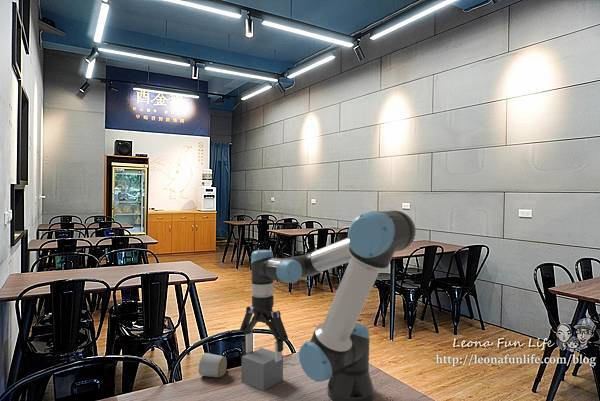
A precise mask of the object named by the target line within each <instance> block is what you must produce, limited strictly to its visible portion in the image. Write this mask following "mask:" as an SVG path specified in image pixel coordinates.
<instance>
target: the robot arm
mask: <svg viewBox="0 0 600 401" xmlns="http://www.w3.org/2000/svg"><path fill="white" fill-rule="evenodd" d="M416 232H417V231H416V226H415V223H414V221H413V219H412V218H411V217H410V216H409V215H408V214H407V213H405V212H402V211H400V210H399V211H398V210H386V211H385V210H384V211H383V210H382V211H379V210H371V211H368V212H365V213H362V214H359V215H358V216H357V217H355V218H354V219H353V220H352V222H351V224H350V225H349V227H348V230H347V237H346V238H344V239H341V240H339V241H336V242H334V243H331V244H329V245H326V246H324V247H321V248H319V249H317V250H314V251H311V252H309V253H306V254H303V255H302V254H301V255H296V256H290V257H285V258H284V257H283V258H281V257H274V254H273V253H274V252H273V251H272V250H271V249H270V250H268V249H259V250H258V249H257V250H254V251H252V253H251V256H250V257H251V259H250V260H251V261H250V264H251V265H250V266H251V270H250V271H251V295H252V296H251V305H250V306H249V305H248V306H246V308H245V309H246V310H245V315H244V317H243V319H242V323H241V325H240V328H239V330H240V331H241V332H243V334H244V343H245V353H246V354H249V353H251V352H253V351H254V349H253V348H254V342H253V339H254V338H253V337H254V335H253V331H252V330H253V329H254V328H255V326H256V325H257V323H263V324H265V325H266V326H268V329H269V330H270V332H271V333H272V336H273V337H274V339H275V340H276V341H275V342H274V352H275V362H278V361H280V360H282V355H283V351H284V342H285V341H288V339H289V336H288V334H287V330H286V329H285V326H284V322H283V320H282V318H281V312H280V310H277V311H274V309H273V307H274V302H275V301H274V300H275V299H274V281H275V282H283V283H286V284H288V283H290V284H293V283H297V282H298V281H299V280H300V279H302V278H305V277H306V278H307V277H310V276H315V275H318V274H320V273H322V272H324V271H327V270H330V269H333V268H336V267H339V266H342V265H345V264H347V263H348V265H347V266H346V268H345V271H344V273H343V276H342V278H341V280H340V283H339V285H338V287H337V290H336V292H335V295H334V298H333V300H332V302H331V304H330V306H329V309H328V312H327V314H326V316H325V319H324V321H323V323H321V324H320V323H319V324H318V325H316V328H315V329H314V331H313V334H312V336H311V338H310V340H309V341H305V342H304V343H303V344H302V345H301V346H300V348H299V351H298V359H299V360H298V361H299V364H300V367H301V368H302V370H303V372H304V373H305V374H306V376H307V377H308V378H310V379H311V380H312V381H314V382H317V383H319V382H320V383H321V382H325V381H328V383H327V387H326V388H327V390H326V392H327V396H328V397H329V399H330V400H332V401H373V400H374V399H375V398H374V397H375V388H374V384H373V380H372V378H371V375H370V369H369V368H370V366H369V365H370V340H371V338H370V330H369V327H368V326H366V325H365V324H362V323H359V322H358V320H359V317H360V316H361V313H362V310H363V309H364V306H365V304H366V302H367V301H368V300H367V299H368V297H369V296H370V293H371V291H372V289H373V286H374V284H375V282H376V280H377V278H378V275H379V274H380V271H382V270H386V269H387V268H388V267H389V265H390V263H391V261H392V259H393V256H394V255H395V253H396V252H400V251H403V250H405V249H408V248H409V247H410V246H411V244H413V242H414V240H415V238H416ZM252 316H253V317H252Z"/></svg>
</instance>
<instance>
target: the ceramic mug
mask: <svg viewBox="0 0 600 401" xmlns="http://www.w3.org/2000/svg"><path fill="white" fill-rule="evenodd" d="M227 366H228V360H227V358H226V356H223V355H220V354H219V355H218V354H213V353H210V352H209V353H208V352H205V353H203V354H202V356H201V358H200V361H199V363H198V373H199V376H200V377H201V376H202V377H208V378H209V377H210V378H217V379H218V378H222V377H223V376H224V375H225V373H226V370H227Z"/></svg>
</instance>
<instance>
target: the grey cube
mask: <svg viewBox="0 0 600 401" xmlns="http://www.w3.org/2000/svg"><path fill="white" fill-rule="evenodd" d="M240 372H241V376H240V377H241V378H240V380H241V383H242V384H243V383H244V384H246V385H248V386H250V387H252V388H255V389H258V390H260V391H265V390H268V389H269V388H270V387H272V386H274V385H276V384H278V383H279V382H281V381H283V380H284V354H282V360H280V361H278V362H275V351H272V350H269V349H266V348H263V347H260V348H258V349H256V350H253V351H252V352H249V353H246V354H245V355H242V356H241V371H240Z"/></svg>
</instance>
